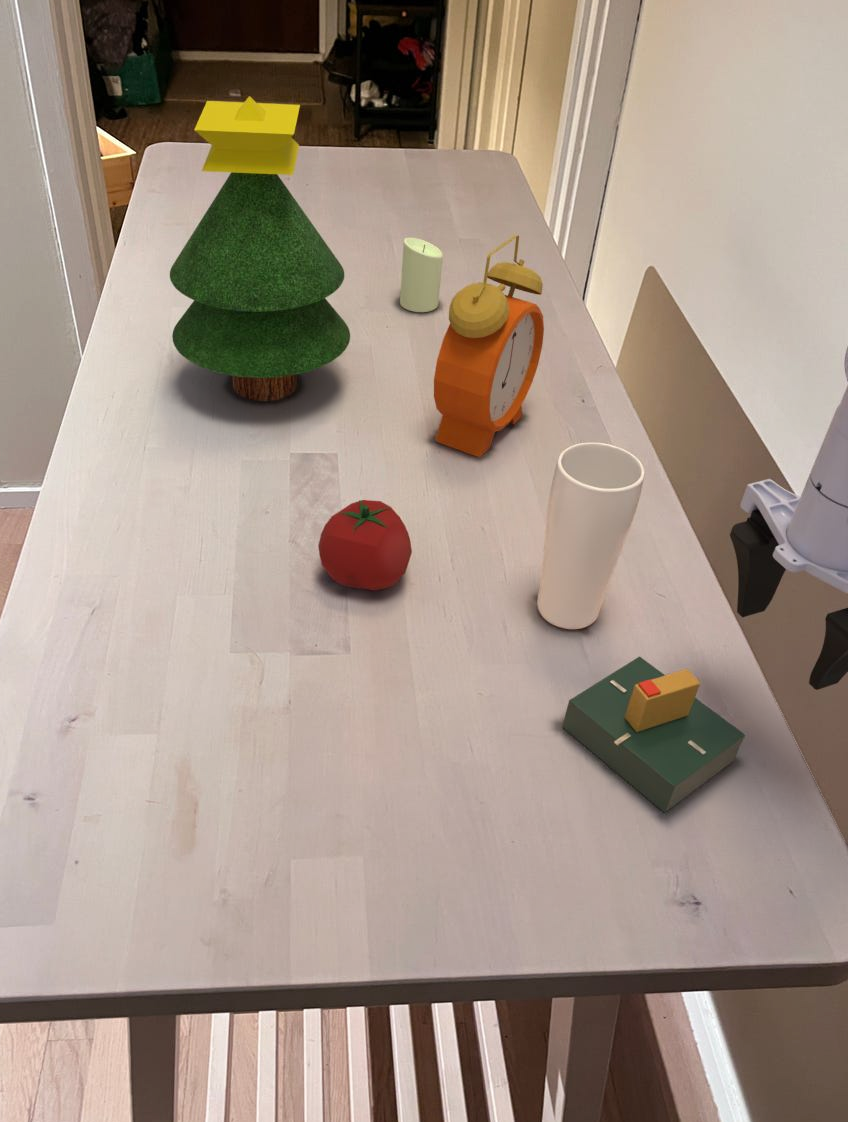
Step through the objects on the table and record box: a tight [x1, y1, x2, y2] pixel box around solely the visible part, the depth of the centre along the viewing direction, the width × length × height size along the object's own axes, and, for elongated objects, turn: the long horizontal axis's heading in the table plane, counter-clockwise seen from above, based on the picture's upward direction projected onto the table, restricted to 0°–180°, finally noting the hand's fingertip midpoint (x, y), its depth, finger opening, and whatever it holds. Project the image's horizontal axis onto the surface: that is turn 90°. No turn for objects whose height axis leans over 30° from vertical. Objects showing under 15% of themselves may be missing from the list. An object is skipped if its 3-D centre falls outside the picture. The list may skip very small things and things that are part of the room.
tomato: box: [317, 499, 413, 591], centre depth 86 cm, size 8×8×7 cm
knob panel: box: [561, 656, 746, 813], centre depth 74 cm, size 10×9×3 cm
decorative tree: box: [169, 95, 351, 402], centre depth 102 cm, size 19×19×30 cm
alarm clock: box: [433, 234, 545, 458], centre depth 100 cm, size 13×6×20 cm, turn 148°
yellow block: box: [625, 668, 701, 732], centre depth 72 cm, size 5×2×4 cm, turn 113°
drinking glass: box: [536, 442, 646, 630], centre depth 81 cm, size 7×7×15 cm
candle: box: [399, 237, 444, 313], centre depth 126 cm, size 5×5×8 cm
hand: (785, 645), depth 70 cm, fingers open, 7 cm apart
